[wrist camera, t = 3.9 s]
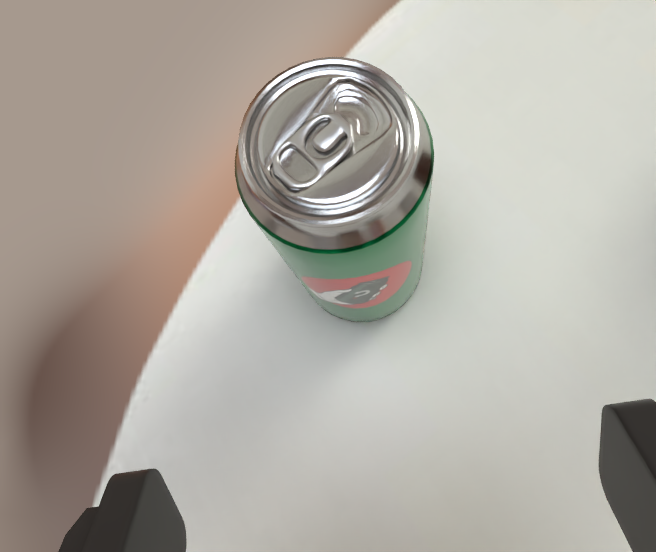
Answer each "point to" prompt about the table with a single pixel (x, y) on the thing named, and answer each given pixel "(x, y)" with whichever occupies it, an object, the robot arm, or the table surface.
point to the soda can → (340, 182)
